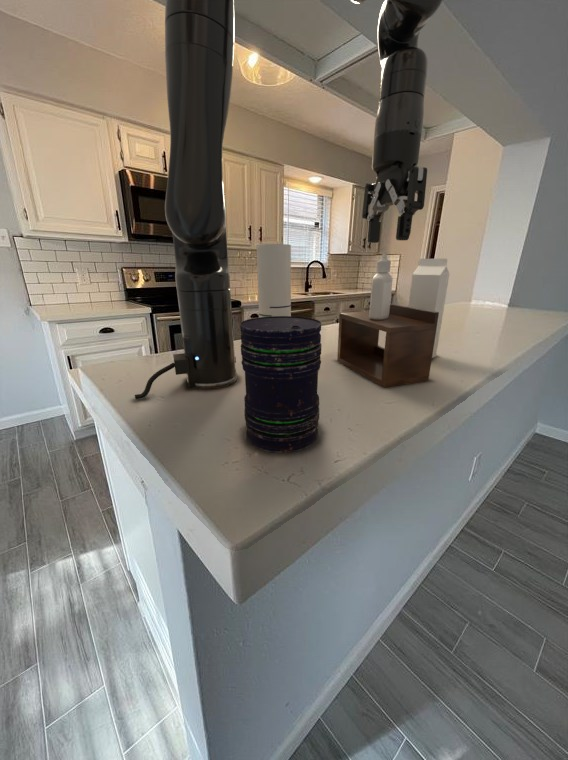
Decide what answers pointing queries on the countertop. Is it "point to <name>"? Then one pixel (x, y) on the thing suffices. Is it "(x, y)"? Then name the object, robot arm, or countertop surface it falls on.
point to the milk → (430, 289)
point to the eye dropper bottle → (381, 290)
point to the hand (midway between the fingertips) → (386, 241)
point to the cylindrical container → (274, 279)
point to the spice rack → (389, 345)
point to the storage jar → (281, 381)
